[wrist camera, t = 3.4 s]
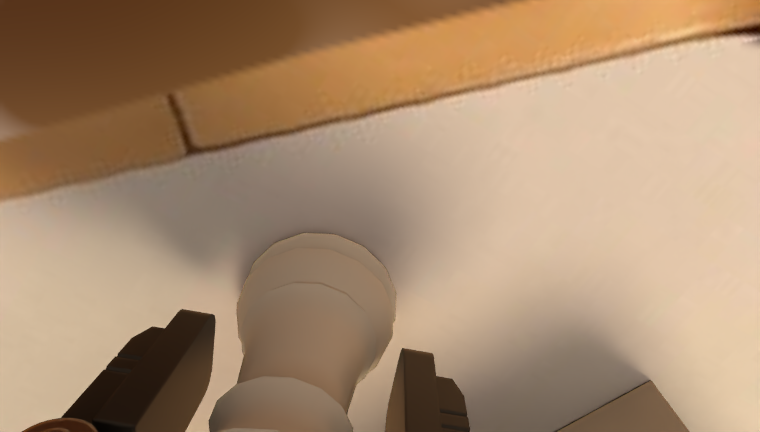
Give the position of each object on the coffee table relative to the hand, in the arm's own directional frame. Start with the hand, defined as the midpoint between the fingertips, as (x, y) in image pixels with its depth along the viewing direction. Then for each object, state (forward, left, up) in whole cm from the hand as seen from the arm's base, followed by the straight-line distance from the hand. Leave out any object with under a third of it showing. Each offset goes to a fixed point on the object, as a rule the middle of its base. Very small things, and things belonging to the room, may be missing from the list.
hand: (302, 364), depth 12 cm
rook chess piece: (0, 0, -4) cm, 4 cm away
